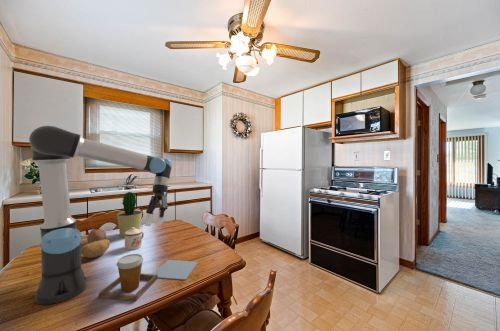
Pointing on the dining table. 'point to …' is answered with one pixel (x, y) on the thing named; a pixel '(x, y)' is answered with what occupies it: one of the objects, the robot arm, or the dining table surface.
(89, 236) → the onion
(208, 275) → the dining table surface
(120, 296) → the walnut collar
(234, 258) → the dining table surface
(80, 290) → the robot arm
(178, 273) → the slate mat
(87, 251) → the potato
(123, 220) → the potted cactus
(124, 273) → the disposable coffee cup
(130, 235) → the teacup with lid
